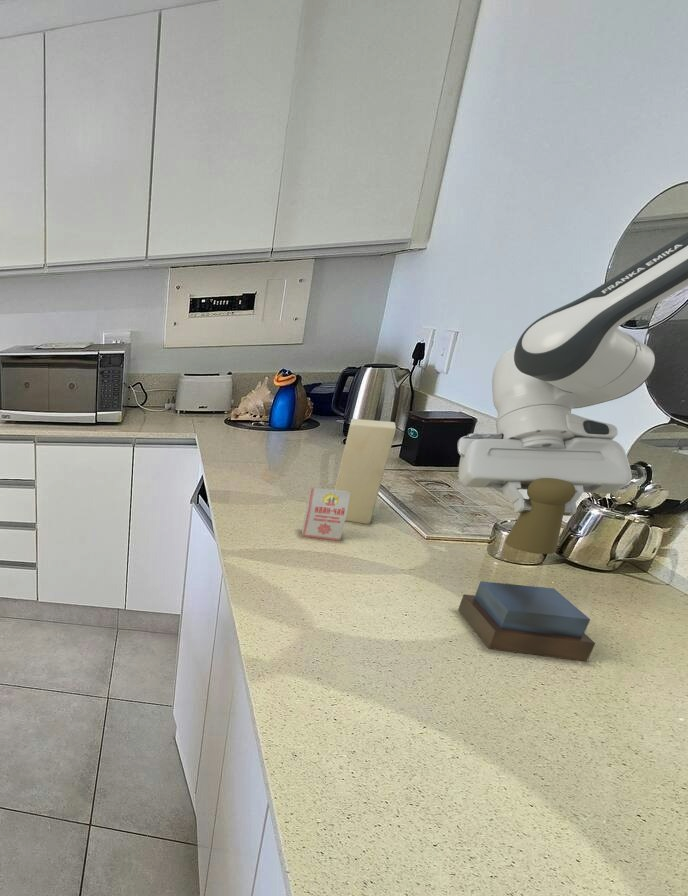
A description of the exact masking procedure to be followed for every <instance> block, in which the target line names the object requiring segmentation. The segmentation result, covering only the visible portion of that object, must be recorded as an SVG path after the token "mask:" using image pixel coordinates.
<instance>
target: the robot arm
mask: <svg viewBox="0 0 688 896" xmlns="http://www.w3.org/2000/svg"><path fill="white" fill-rule="evenodd" d="M686 287H688V231H687V232H685V233H683V234H681V235H680V236H678V237H677V238H675V239H673V240H672V241H670V242H668V243H667V244H665V245H664V246H662V247H660V248H659V249H657V250H656V251H654V252H652V253H651V254H649V255H647V256H646V257H644V258H642V259H641V260H639V261H637V262H636V263H635V264H633V265H632V266H630V267H628V268H627V269H625V270H623V271H622V272H620V273H619V274H617V275H615V276H614V277H612V278H611V279H610V280H607V281H606V282H605V283H602V284H601V285H599V286H598V287H596V288H595V289H593V290H591V291H589V292H588V293H585V295H582V296H580V297H579V298H577V299H575V300H573V301H571V302H570V303H569V302H568V303H566V304H564V305H562V306H560V307H558V308H555V309H554V310H552V311H550V312H548V313H546V314H544V315H542V316H541V317H539V318H537V319H536V320H534V321H533V322H532V323H531V324H529V326H528V327H527V328H525V330H523V332H522V334H521V335H520V337H519V339H518V341H517V343H516V345H515V346H514V347H512V348H510V349H508V350H507V351H506V352H504V353H503V354H502V355H501V356H500V357H499V359H498V360H497V362H496V364H495V366H494V368H493V372H492V377H491V378H492V379H491V388H492V389H491V390H492V401H493V406H494V408H495V410H496V412H497V417H496V421H495V427H496V433H477V432H476V433H475V432H473V433H468V434H467V435H463V436H462V437H460V438H459V439H458V440H457V444H456V445H457V453H458V454H459V456H460V458H459V464H458V481H459V483H461V484H462V485H463V487H466V488H483V489H502V494H503V496H504V497H505V498H506V499H507V500H508V501H509V502H510V503H512V505H513V512H514V513H517V514H521V513H526V512H528V511H531V510H532V505H531V499H529V498H525V497H524V495H523V494H522V493H521V492H520V490H526V491H527V489H528V486H529V485H530V483H531V482H533V481H534V480H535V479H539V478H554V479H560V480H565V481H568V482H570V483H572V484H573V485H574V487H575V495H574V497H573V498H572V499H571V500H570V501H569V502H568V503H566V504H565V509H564V514H563V517H567V516H568V517H572V516H574V515H575V514H576V513H577V510H578V508H577V502H578V500H579V499H580V498H581V496H582V495H583V494H584V493H585V494H586V493H588V494H590V493H591V494H604V495H605V494H607V495H608V494H609V495H610V494H614V493H616V492H618V491H620V490H621V489H623V488H625V487H626V486H627V485H628V484H629V483H631V481H632V479H633V475H632V469H631V464H630V462H629V457H628V455H627V453H626V450H625V449H624V447H623V445H622V444H620V443H619V442H618V441H616V440H614V439H615V438H616V437H617V436H618V433H619V431H618V428H617V426H615V425H614V424H611V423H607V422H603V421H599V420H594V419H590V418H587V417H583V416H580V415H578V414H575V413H572V410H573V409H582V408H587V407H592V406H596V405H600V404H603V403H607V402H612V401H613V400H617V399H620V398H623V397H625V396H627V395H629V394H631V393H633V392H634V391H636V390H637V389H638V388H640V387H642V385H643V384H644V383H645V382H646V381H647V380H648V379H649V378H650V377H651V375H652V374H653V371H654V370H655V366H656V362H657V361H656V360H657V358H656V353H655V351H654V350H653V349H652V348H651V347H650V346H649V345H646V344H645V343H644V342H642V341H641V340H639V339H637V338H636V337H634V336H632V335H631V334H629V333H627V332H624V331H623V330H621V329H619V327H620V326H621V325H622V324H624V323H625V322H627V321H629V320H631V319H632V318H634V317H635V316H638V315H639V314H642V313H643V312H645V311H646V310H648V309H649V308H651V307H654V306H655V305H657V304H658V303H660V302H662V301H664V300H665V299H667V298H668V297H671V296H672V295H674V294H675V293H677V292H679V291H681V290H683V289H684V288H686Z"/></svg>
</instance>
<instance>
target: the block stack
mask: <svg viewBox="0 0 688 896" xmlns="http://www.w3.org/2000/svg"><path fill="white" fill-rule="evenodd" d="M457 611H458V613H459V614H460V615H461V616H462V618H464V620H465V621H466V622H467V624H468V625H469V626H470V627H471V629H472V630H473V631H474V633H476V635H477V636H478V637H479V639H480V640H481V641H482V642H483V644H484V645H485V646H486V647H487V648H488V649H489V650H495V651H504V652H510V653H511V652H512V653H520V654H527V655H533V656H534V655H535V656H544V657H550V658H557V659H566V660H573V661H580V662H581V661H582V662H588V660H589V657H590V656H591V654H592V652H593V650H594V648H595V646H596V642H595V641H594V640H592V638H591V637H589V635H587V634H586V633H585V632H586V630H587V628H588V626H589V624H590V621H591V618H589V617H588V616H587V615H586V614H585V613H584V612H583V611H581V610H580V609H579V608H578V607H577V606H576V605H574V604H573V603H572V602H571V601H570V600H568V598H566V597H565V596H564V595H562V593H560V592H559V591H558V590H557V589H556V588H554V587H545V586H544V587H543V586H534V585H523V584H512V583H502V582H493V581H483V580H480V581H479V584H478V586H477V589H476V591H475V595H473V594H464V593H463V595H462V598H461V601H460V604H459V606H458V609H457Z"/></svg>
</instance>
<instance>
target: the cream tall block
mask: <svg viewBox="0 0 688 896" xmlns="http://www.w3.org/2000/svg"><path fill="white" fill-rule="evenodd" d="M396 431H397V426H396V422H394V421H385V420H375V419H374V420H372V419H359V418H351V420H350V424H349V427H348V432H347V436H346V442H345V445H344V448H343V453H342V457H341V462H340V465H339V469H338V474H337V478H336V480H335V486H334V489H333V490H340V491H350V492H351V493H350V498H349V503H348V509H347V515H346V519H345V522H353V523H357V524H358V523H360V524H364V525H365V524H366V525H370V524H371V520H372V517H373V514H374V511H375V508H376V507H375V506H376V503H377V499H378V496H379V492H380V489H381V485H382V482H383V478H384V474H385V471H386V467H387V463H388V460H389V456H390V453H391V449H392V445H393V442H394V438H395V434H396Z"/></svg>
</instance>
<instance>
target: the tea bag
mask: <svg viewBox="0 0 688 896" xmlns="http://www.w3.org/2000/svg"><path fill="white" fill-rule="evenodd" d="M350 493H351V492H350V491H340V490H334V489H329V488H328V489H327V488H320V487H319V488H318V487H317V488H316V487H311V488H310V493H309V497H308V500H307V503H306V509H305V513H304V517H303V523H302V527H301V534H302V537H305V538H306V537H307V538H313V539H321V540H322V539H323V540H330V541H338V542H341V540H342V535H343V531H344V526H345V524H346V523H345V522H346V521H345V519H346V515H347V509H348V503H349V498H350Z"/></svg>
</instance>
